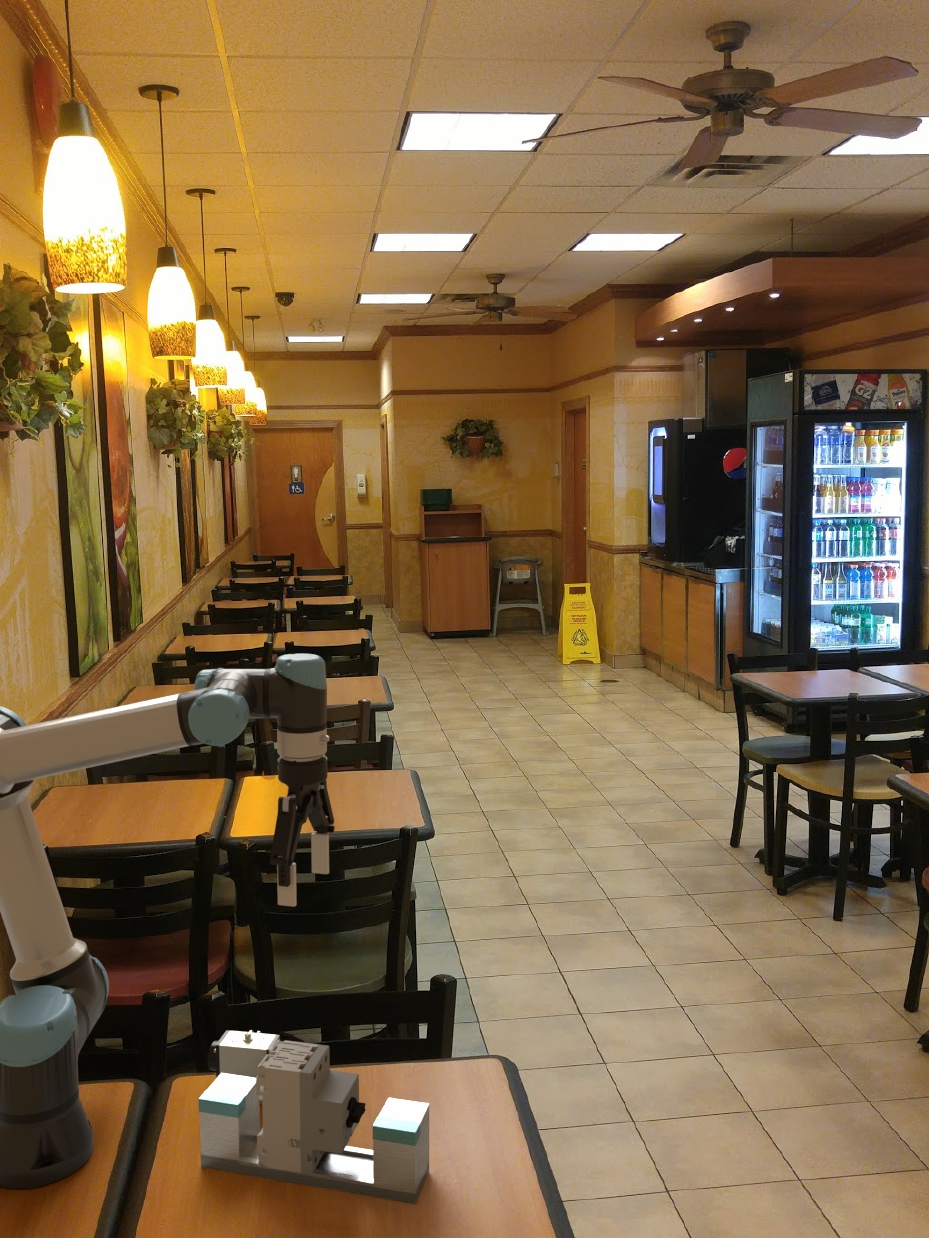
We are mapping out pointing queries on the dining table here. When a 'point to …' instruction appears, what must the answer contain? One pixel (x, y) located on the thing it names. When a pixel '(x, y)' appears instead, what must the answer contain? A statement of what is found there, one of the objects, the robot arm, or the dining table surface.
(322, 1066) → the circuit breaker
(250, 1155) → the rail with modules
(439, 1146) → the dining table surface
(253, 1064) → the pneumatic valve
